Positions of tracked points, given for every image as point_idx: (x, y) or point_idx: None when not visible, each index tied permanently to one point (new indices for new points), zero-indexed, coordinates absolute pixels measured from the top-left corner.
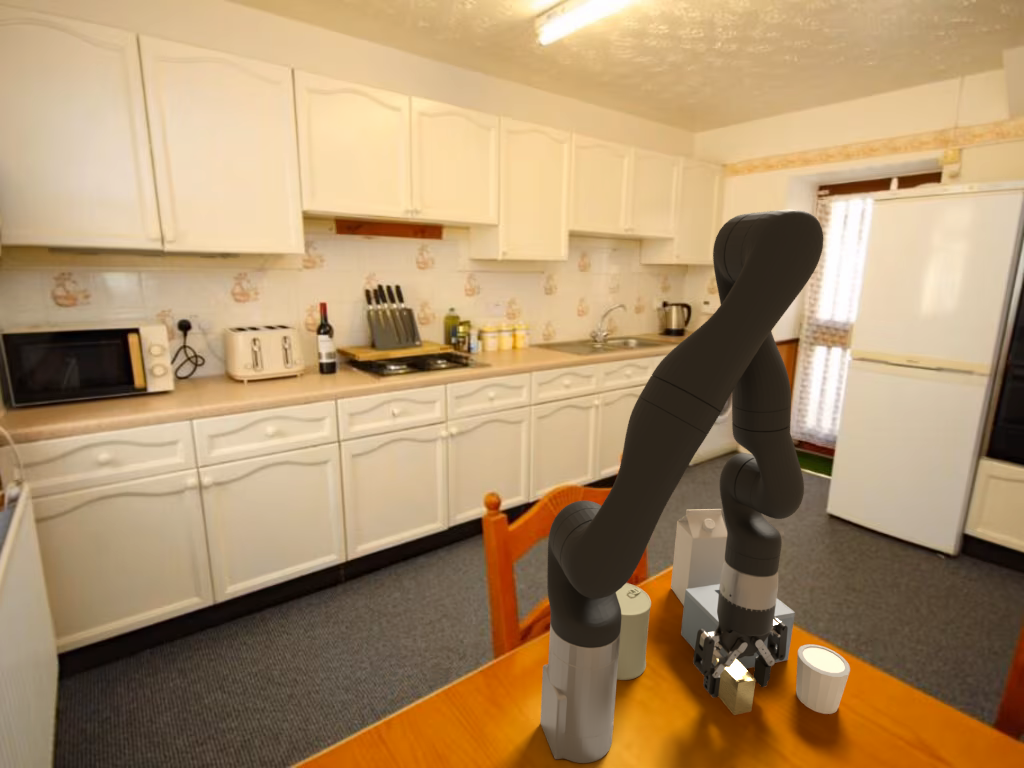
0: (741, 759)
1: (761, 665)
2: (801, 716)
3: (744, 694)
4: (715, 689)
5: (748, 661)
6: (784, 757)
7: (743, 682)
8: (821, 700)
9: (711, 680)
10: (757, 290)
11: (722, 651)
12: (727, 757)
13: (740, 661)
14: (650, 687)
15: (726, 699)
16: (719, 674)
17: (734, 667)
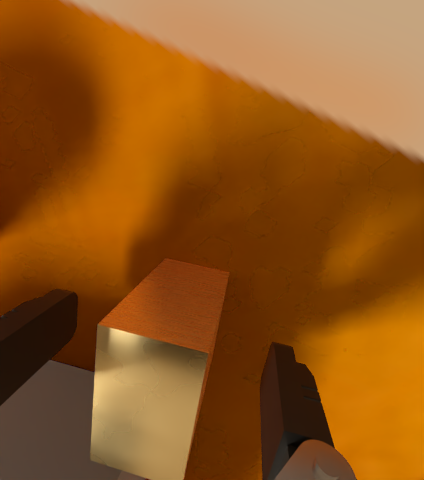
0: (367, 134)
1: (5, 364)
2: (35, 174)
3: (179, 299)
4: (296, 375)
5: (37, 379)
6: (214, 75)
7: (175, 342)
8: None
9: (319, 428)
10: None
11: (103, 471)
12: (407, 162)
13: (61, 392)
14: (385, 456)
15: (219, 320)
16: (300, 454)
17: (140, 420)
